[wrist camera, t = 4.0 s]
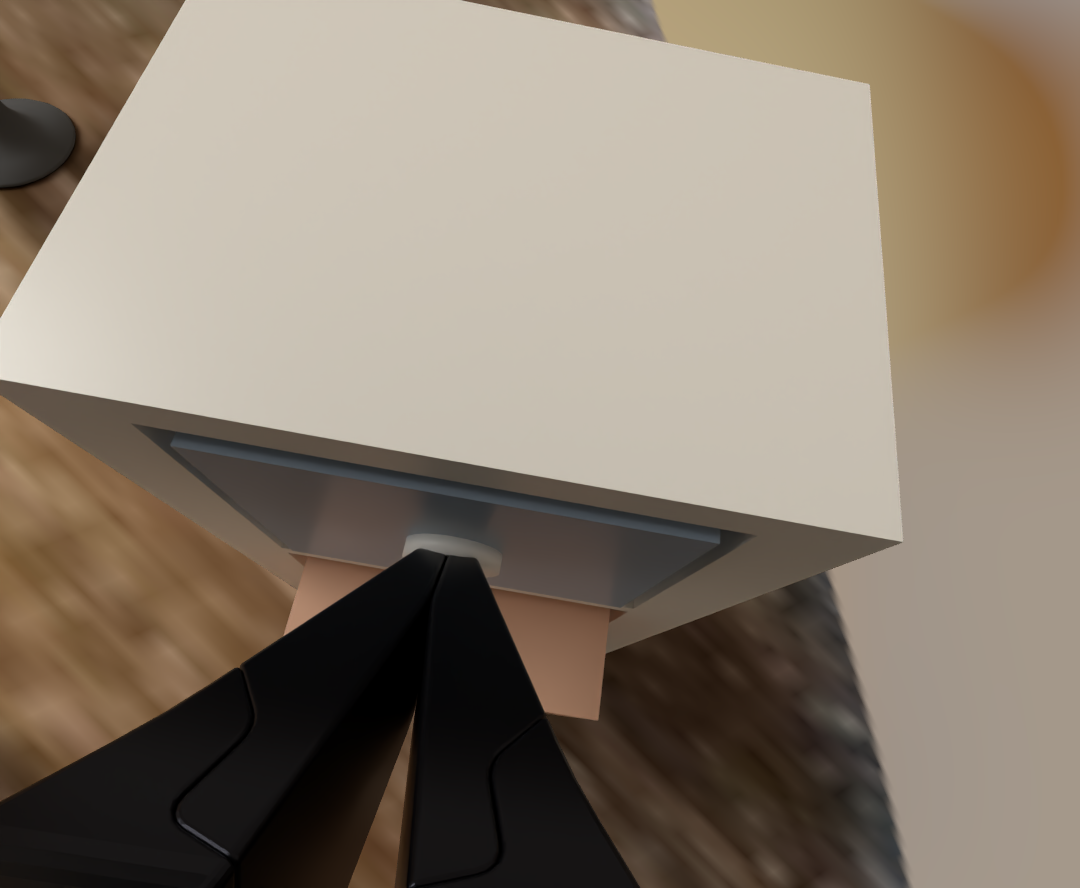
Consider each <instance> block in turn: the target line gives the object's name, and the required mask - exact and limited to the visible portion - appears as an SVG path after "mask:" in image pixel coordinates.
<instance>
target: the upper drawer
mask: <svg viewBox="0 0 1080 888" xmlns="http://www.w3.org/2000/svg"><path fill="white" fill-rule="evenodd" d="M170 446H171V447H172V448H173V449H174V450H175V451H177V452H178V453H179V454H180V455H181V456H182V457H184V458H185V459H186V460H187V461H188V462H189V463H191V464H192V465H193V466H194V467H195V468H196V469H198V470H199V471H200V472H201V473H202V474H203V475H205V476H206V477H207V478H208V479H209V480H210V481H212V482H213V483H214V484H215V485H216V486H217V487H219V488H220V489H221V490H222V491H223V492H224V493H226V494H227V495H228V496H229V497H230V498H231V499H233V500H234V501H235V502H236V503H237V504H238V505H240V506H241V507H242V508H243V509H244V510H245V511H247V512H248V513H249V514H250V515H251V516H252V517H254V518H255V519H256V520H257V521H258V522H259V523H261V524H262V525H263V526H264V527H265V528H266V529H268V530H269V531H270V532H271V533H272V534H273V535H275V536H276V537H277V538H278V539H279V540H280V541H282V542H283V543H284V544H285V545H286V546H287V547H289V548H290V549H291V550H292V551H297V552H302V553H308V554H314V555H320V556H325V557H331V558H337V559H343V560H348V561H354V562H360V563H366V564H372V565H377V566H383V567H390V566H391V565H393V564H394V563H396V562H397V561H399V560H400V559H402V558H403V557H405V556H406V555H408V554H410V553H411V552H413V551H414V550H416V549H418V548H423V549H427V550H430V551H434V552H437V553H442V554H445V555H446V556H447V557H448V556H449V555H454V556H459V557H473V558H476V559H477V560H478V561H479V563H480V565H481V568H482V570H483V572H484V575H485V577H486V579H487V581H488V584H489V585H492V586H498V587H504V588H510V589H515V590H521V591H527V592H533V593H538V594H544V595H550V596H556V597H561V598H567V599H573V600H579V601H584V602H590V603H596V604H602V605H607V606H613V607H619V608H621V607H623V606H624V605H626V604H627V603H629V602H630V601H632V600H634V599H635V598H637V597H638V596H640V595H641V594H643V593H644V592H646V591H648V590H649V589H651V588H652V587H654V586H655V585H657V584H658V583H660V582H662V581H663V580H665V579H666V578H668V577H669V576H671V575H672V574H674V573H676V572H677V571H679V570H680V569H682V568H683V567H685V566H686V565H688V564H690V563H691V562H693V561H694V560H696V559H697V558H699V557H700V556H702V555H704V554H705V553H707V552H708V551H710V550H711V549H713V548H714V547H716V546H718V545H719V544H720V531H721V529H718V528H713V527H707V526H701V525H696V524H690V523H685V522H679V521H673V520H668V519H662V518H657V517H651V516H646V515H640V514H634V513H629V512H623V511H618V510H612V509H606V508H601V507H595V506H590V505H584V504H579V503H573V502H567V501H562V500H556V499H551V498H545V497H539V496H534V495H528V494H523V493H517V492H512V491H506V490H500V489H495V488H489V487H484V486H478V485H472V484H467V483H461V482H456V481H450V480H445V479H439V478H433V477H428V476H422V475H417V474H411V473H405V472H400V471H394V470H389V469H383V468H378V467H372V466H366V465H361V464H355V463H350V462H344V461H338V460H333V459H327V458H322V457H316V456H311V455H305V454H299V453H294V452H288V451H283V450H277V449H271V448H266V447H260V446H255V445H249V444H244V443H238V442H232V441H227V440H221V439H216V438H210V437H204V436H199V435H193V434H188V433H182V432H177V431H176V433H175V435H174V437H173V440H172V442H171V445H170Z"/></svg>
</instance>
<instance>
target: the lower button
mask: <svg viewBox="0 0 1080 888" xmlns="http://www.w3.org/2000/svg"><path fill="white" fill-rule="evenodd" d="M384 570H385V569H379V568H373V567H368V566H362V565H356V564H350V563H345V562H339V561H333V560H327V559H322V558H316V557H310V556H307V560H306V563H305V566H304V570H303V573H302V576H301V580H300V583H299V586H298V590H297V593H296V596H295V599H294V603H293V606H292V609H291V613H290V616H289V619H288V623H287V626H286V629H285V633H284V636H285V635H286V634H288V633H289V632H291V631H292V630H294V629H295V628H297V627H298V626H300V625H301V624H303V623H304V622H306V621H307V620H309V619H310V618H312V617H313V616H315V615H317V614H318V613H320V612H321V611H323V610H324V609H326V608H327V607H329V606H330V605H332V604H333V603H335V602H336V601H338V600H339V599H341V598H342V597H344V596H346V595H347V594H349V593H350V592H352V591H353V590H355V589H356V588H358V587H359V586H361V585H362V584H364V583H365V582H367V581H368V580H370V579H371V578H373V577H374V576H376V575H378V574H379V573H381V572H382V571H384ZM491 590H492V593H493V595H494V597H495V600H496V602H497V604H498V606H499V609H500V611H501V613H502V616H503V618H504V620H505V622H506V625H507V627H508V629H509V632H510V634H511V636H512V638H513V641H514V643H515V645H516V648H517V650H518V652H519V654H520V657H521V659H522V661H523V663H524V666H525V668H526V670H527V673H528V675H529V677H530V679H531V682H532V684H533V686H534V689H535V691H536V693H537V695H538V698H539V700H540V702H541V705H542V707H543V709H544V711H545V713H548V714H554V715H559V716H566V717H574V718H582V719H589V720H597V721H598V718H599V708H600V699H601V690H602V681H603V671H604V662H605V653H606V643H607V634H608V625H609V616H610V609H609V608H604V607H598V606H592V605H586V604H581V603H575V602H569V601H563V600H558V599H552V598H546V597H540V596H535V595H529V594H523V593H517V592H512V591H506V590H500V589H494V588H491Z"/></svg>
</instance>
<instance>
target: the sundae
mask: <svg viewBox="0 0 1080 888" xmlns="http://www.w3.org/2000/svg"><path fill="white" fill-rule="evenodd" d="M74 144H75V128H74V126H73V123H72V121H71V120H70V119H69V117H68V116H67V114H65V113H64V112H62V111H61V110H60V109H58V108H56V107H54V106H52V105H50V104H48V103H44V102H40V101H35V100H30V99H5V100H0V188H1V187H14V186H22V185H25V184H28V183H31V182H34V181H37V180H39V179H41V178H44V177H46V176H47V175H49V174H50V173H52V172H53V171H55V170H56V169H57V168H58V167H60V166H61V165H62V164H63V163H64V162H65V161H66V159H67V158H68V156H69V155H70V153H71V151H72V149H73V147H74Z"/></svg>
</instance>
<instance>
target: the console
mask: <svg viewBox="0 0 1080 888" xmlns="http://www.w3.org/2000/svg"><path fill="white" fill-rule="evenodd" d="M870 98H871V97H870V85H869V84H866V83H861V82H856V81H851V80H846V79H842V78H836V77H832V76H827V75H822V74H817V73H812V72H807V71H802V70H797V69H792V68H788V67H783V66H778V65H773V64H768V63H763V62H758V61H754V60H749V59H744V58H739V57H734V56H729V55H724V54H720V53H715V52H710V51H705V50H700V49H695V48H690V47H685V46H680V45H676V44H671V43H666V42H661V41H656V40H651V39H646V38H641V37H637V36H632V35H627V34H622V33H617V32H612V31H607V30H602V29H598V28H593V27H588V26H583V25H578V24H573V23H568V22H563V21H559V20H554V19H549V18H544V17H539V16H534V15H529V14H524V13H519V12H515V11H510V10H505V9H500V8H495V7H490V6H485V5H480V4H476V3H471V2H466V1H461V0H186V1H185V2H184V4H183V6H182V7H181V9H180V11H179V13H178V14H177V16H176V18H175V19H174V21H173V23H172V25H171V26H170V28H169V30H168V31H167V33H166V35H165V37H164V38H163V40H162V42H161V43H160V45H159V47H158V49H157V50H156V52H155V54H154V55H153V57H152V59H151V61H150V62H149V64H148V66H147V68H146V69H145V71H144V73H143V74H142V76H141V78H140V80H139V81H138V83H137V85H136V86H135V88H134V90H133V92H132V93H131V95H130V97H129V98H128V100H127V102H126V104H125V105H124V107H123V109H122V110H121V112H120V114H119V116H118V117H117V119H116V121H115V122H114V124H113V126H112V128H111V129H110V131H109V133H108V134H107V136H106V138H105V140H104V141H103V143H102V145H101V147H100V148H99V150H98V152H97V153H96V155H95V157H94V159H93V160H92V162H91V164H90V165H89V167H88V169H87V171H86V172H85V174H84V176H83V177H82V179H81V181H80V183H79V184H78V186H77V188H76V189H75V191H74V193H73V195H72V196H71V198H70V200H69V201H68V203H67V205H66V207H65V208H64V210H63V212H62V213H61V215H60V217H59V219H58V220H57V222H56V224H55V226H54V227H53V229H52V231H51V232H50V234H49V236H48V238H47V239H46V241H45V243H44V244H43V246H42V248H41V250H40V251H39V253H38V255H37V256H36V258H35V260H34V262H33V263H32V265H31V267H30V268H29V270H28V272H27V274H26V275H25V277H24V279H23V280H22V282H21V284H20V286H19V287H18V289H17V291H16V293H15V294H14V296H13V298H12V299H11V301H10V303H9V305H8V306H7V308H6V310H5V311H4V313H3V315H2V317H1V318H0V395H2V396H3V397H5V398H6V399H8V400H9V401H11V402H12V403H14V404H15V405H17V406H18V407H20V408H21V409H23V410H25V411H26V412H28V413H29V414H31V415H32V416H34V417H35V418H37V419H38V420H40V421H41V422H43V423H44V424H46V425H47V426H49V427H50V428H52V429H53V430H55V431H56V432H58V433H60V434H61V435H63V436H64V437H66V438H67V439H69V440H70V441H72V442H73V443H75V444H76V445H78V446H79V447H81V448H82V449H84V450H85V451H87V452H88V453H90V454H91V455H93V456H95V457H96V458H98V459H99V460H101V461H102V462H104V463H105V464H107V465H108V466H110V467H111V468H113V469H114V470H116V471H117V472H119V473H120V474H122V475H123V476H125V477H126V478H128V479H130V480H131V481H133V482H134V483H136V484H137V485H139V486H140V487H142V488H143V489H145V490H146V491H148V492H149V493H151V494H152V495H154V496H155V497H157V498H158V499H160V500H161V501H163V502H165V503H166V504H168V505H169V506H171V507H172V508H174V509H175V510H177V511H178V512H180V513H181V514H183V515H184V516H186V517H187V518H189V519H190V520H192V521H193V522H195V523H196V524H198V525H200V526H201V527H203V528H204V529H206V530H207V531H209V532H210V533H212V534H213V535H215V536H216V537H218V538H219V539H221V540H222V541H224V542H225V543H227V544H228V545H230V546H231V547H233V548H235V549H236V550H238V551H239V552H241V553H242V554H244V555H245V556H247V557H248V558H250V559H251V560H253V561H254V562H256V563H257V564H259V565H260V566H262V567H263V568H265V569H266V570H268V571H270V572H271V573H273V574H274V575H276V576H277V577H279V578H280V579H282V580H283V581H285V582H286V583H288V584H289V585H291V586H292V587H294V588H295V589H297V590H298V586H299V583H300V580H301V576H302V573H303V570H304V566H305V563H306V560H307V556H310V557H316V558H322V559H327V560H333V561H339V562H345V563H350V564H356V565H362V566H368V567H373V568H379V569H387V568H388V567H383V566H377V565H372V564H366V563H360V562H354V561H348V560H343V559H337V558H331V557H325V556H320V555H314V554H308V553H302V552H297V551H292V550H291V549H290V548H289V547H287V546H286V545H285V544H284V543H283V542H282V541H280V540H279V539H278V538H277V537H276V536H275V535H273V534H272V533H271V532H270V531H269V530H268V529H266V528H265V527H264V526H263V525H262V524H261V523H259V522H258V521H257V520H256V519H255V518H254V517H252V516H251V515H250V514H249V513H248V512H247V511H245V510H244V509H243V508H242V507H241V506H240V505H238V504H237V503H236V502H235V501H234V500H233V499H231V498H230V497H229V496H228V495H227V494H226V493H224V492H223V491H222V490H221V489H220V488H219V487H217V486H216V485H215V484H214V483H213V482H212V481H210V480H209V479H208V478H207V477H206V476H205V475H203V474H202V473H201V472H200V471H199V470H198V469H196V468H195V467H194V466H193V465H192V464H191V463H189V462H188V461H187V460H186V459H185V458H184V457H182V456H181V455H180V454H179V453H178V452H177V451H175V450H174V449H173V448H172V447H171V446H170V445H171V442H172V440H173V437H174V435H175V433H176V431H177V432H182V433H188V434H193V435H199V436H204V437H210V438H216V439H221V440H227V441H232V442H238V443H244V444H249V445H255V446H260V447H266V448H271V449H277V450H283V451H288V452H294V453H299V454H305V455H311V456H316V457H322V458H327V459H333V460H338V461H344V462H350V463H355V464H361V465H366V466H372V467H378V468H383V469H389V470H394V471H400V472H405V473H411V474H417V475H422V476H428V477H433V478H439V479H445V480H450V481H456V482H461V483H467V484H472V485H478V486H484V487H489V488H495V489H500V490H506V491H512V492H517V493H523V494H528V495H534V496H539V497H545V498H551V499H556V500H562V501H567V502H573V503H579V504H584V505H590V506H595V507H601V508H606V509H612V510H618V511H623V512H629V513H634V514H640V515H646V516H651V517H657V518H662V519H668V520H673V521H679V522H685V523H690V524H696V525H701V526H707V527H713V528H718V529H721V531H720V544H719V545H718V546H716V547H714V548H713V549H711V550H710V551H708V552H707V553H705V554H704V555H702V556H700V557H699V558H697V559H696V560H694V561H693V562H691V563H690V564H688V565H686V566H685V567H683V568H682V569H680V570H679V571H677V572H676V573H674V574H672V575H671V576H669V577H668V578H666V579H665V580H663V581H662V582H660V583H658V584H657V585H655V586H654V587H652V588H651V589H649V590H648V591H646V592H644V593H643V594H641V595H640V596H638V597H637V598H635V599H634V600H632V601H630V602H629V603H627V604H626V605H624V606H623V607H621V608H619V607H613V606H607V605H602V604H596V603H590V602H584V601H579V600H573V599H567V598H561V597H556V596H550V595H544V594H538V593H533V592H527V591H521V590H515V589H510V588H504V587H498V586H492V585H489V586H490V588H494V589H500V590H506V591H512V592H517V593H523V594H529V595H535V596H540V597H546V598H552V599H558V600H563V601H569V602H575V603H581V604H586V605H592V606H598V607H604V608H609V609H610V616H609V625H608V634H607V643H606V653H608V652H611V651H614V650H616V649H619V648H622V647H624V646H627V645H630V644H633V643H635V642H638V641H641V640H643V639H646V638H649V637H651V636H654V635H657V634H659V633H662V632H665V631H667V630H670V629H673V628H675V627H678V626H681V625H683V624H686V623H689V622H691V621H694V620H697V619H699V618H702V617H705V616H707V615H710V614H713V613H715V612H718V611H721V610H723V609H726V608H729V607H731V606H734V605H737V604H739V603H742V602H745V601H747V600H750V599H753V598H755V597H758V596H761V595H763V594H766V593H769V592H771V591H774V590H777V589H779V588H782V587H785V586H787V585H790V584H793V583H795V582H798V581H801V580H803V579H806V578H809V577H811V576H814V575H817V574H819V573H822V572H825V571H827V570H830V569H833V568H835V567H838V566H841V565H843V564H846V563H848V562H851V561H854V560H857V559H859V558H862V557H864V556H867V555H870V554H873V553H875V552H878V551H881V550H883V549H886V548H889V547H891V546H894V545H897V544H899V543H902V542H903V530H902V517H901V505H900V490H899V477H898V464H897V449H896V436H895V422H894V409H893V395H892V381H891V368H890V355H889V342H888V328H887V314H886V300H885V287H884V273H883V260H882V248H881V233H880V219H879V205H878V192H877V178H876V165H875V151H874V138H873V125H872V111H871V99H870ZM606 653H605V654H606Z"/></svg>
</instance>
